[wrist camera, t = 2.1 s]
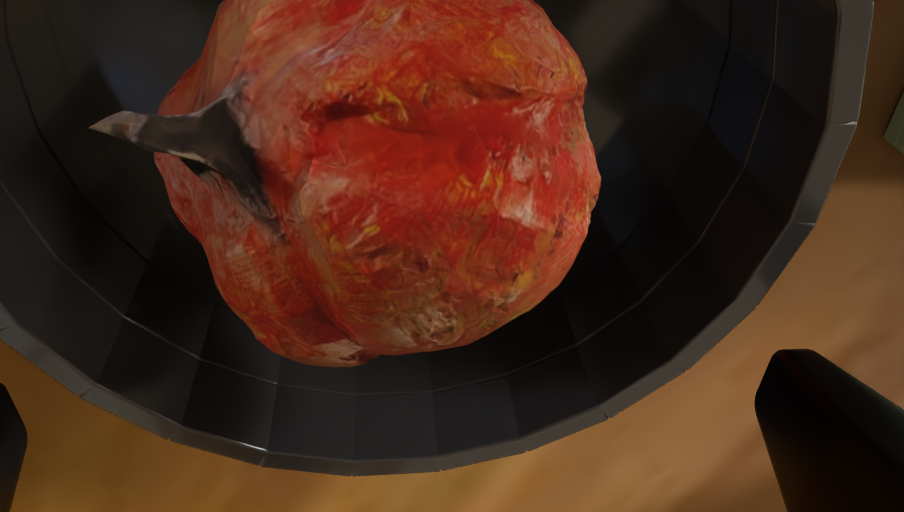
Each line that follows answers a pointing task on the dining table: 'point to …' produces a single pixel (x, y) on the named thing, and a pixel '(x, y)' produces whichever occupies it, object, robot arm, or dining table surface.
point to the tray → (896, 127)
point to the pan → (448, 370)
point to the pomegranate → (377, 169)
